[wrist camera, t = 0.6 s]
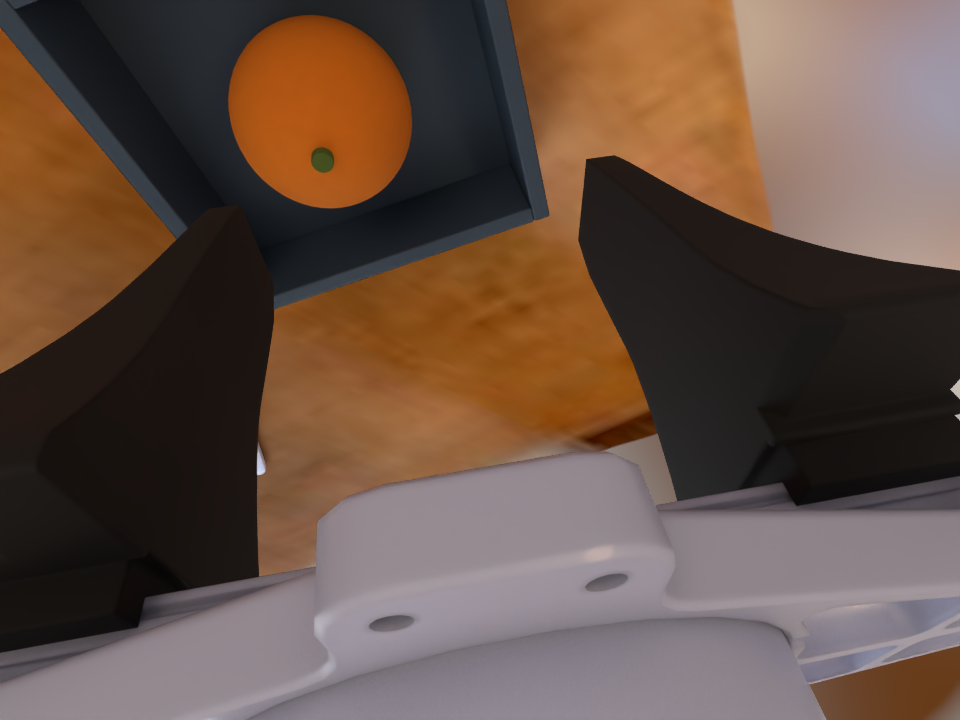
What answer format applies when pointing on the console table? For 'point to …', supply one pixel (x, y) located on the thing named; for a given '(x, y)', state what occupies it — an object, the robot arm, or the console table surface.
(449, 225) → the dark gray tray
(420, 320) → the console table surface
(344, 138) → the orange
